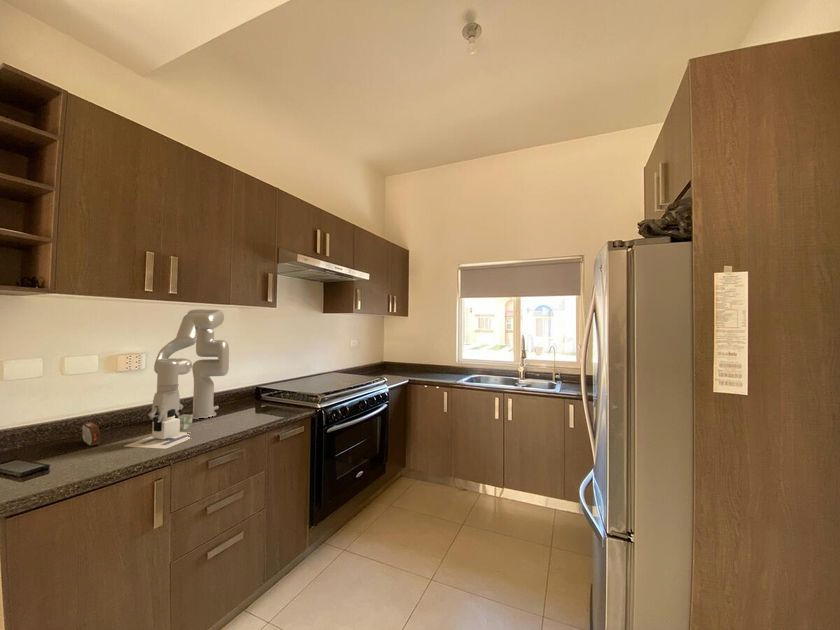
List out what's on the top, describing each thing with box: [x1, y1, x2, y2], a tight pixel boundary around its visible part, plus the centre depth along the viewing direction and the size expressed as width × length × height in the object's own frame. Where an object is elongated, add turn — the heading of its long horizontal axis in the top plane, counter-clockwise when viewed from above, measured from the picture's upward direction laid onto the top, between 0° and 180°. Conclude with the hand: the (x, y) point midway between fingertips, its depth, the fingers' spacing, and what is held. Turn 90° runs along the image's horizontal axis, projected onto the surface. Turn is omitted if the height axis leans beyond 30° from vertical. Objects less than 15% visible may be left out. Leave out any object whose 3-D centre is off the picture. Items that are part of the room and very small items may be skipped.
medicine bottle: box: [151, 409, 181, 439], centre depth 148 cm, size 7×7×12 cm
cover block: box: [178, 414, 193, 431], centre depth 164 cm, size 5×5×6 cm
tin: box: [81, 421, 101, 447], centre depth 142 cm, size 15×3×8 cm, turn 57°
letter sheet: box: [124, 431, 190, 450], centre depth 148 cm, size 20×20×1 cm
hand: (166, 428), depth 148 cm, fingers closed on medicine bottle, 7 cm apart
